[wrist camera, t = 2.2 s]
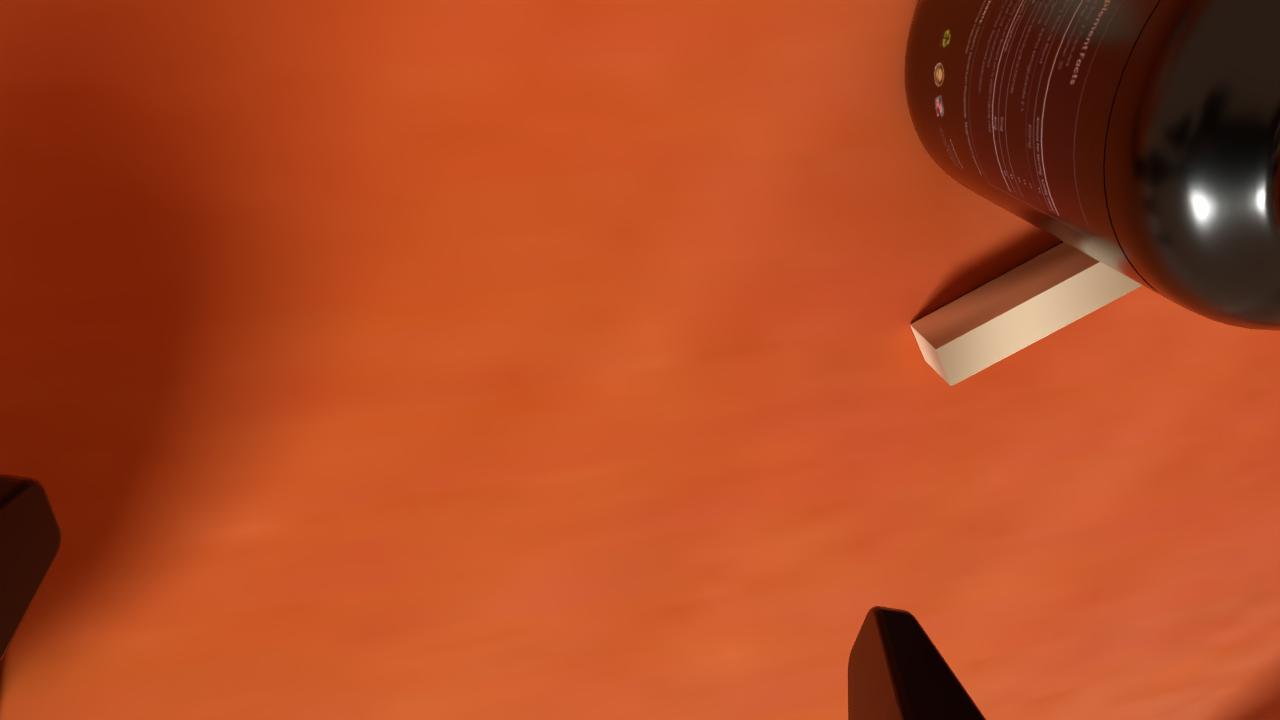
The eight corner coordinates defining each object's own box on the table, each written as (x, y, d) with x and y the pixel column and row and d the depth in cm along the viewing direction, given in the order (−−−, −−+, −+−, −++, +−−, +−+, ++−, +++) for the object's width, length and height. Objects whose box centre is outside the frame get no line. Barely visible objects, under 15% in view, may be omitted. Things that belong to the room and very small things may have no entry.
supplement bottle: (1207, -139, 19) (2155, -228, 8) (1148, 176, 22) (1775, 414, 11) (899, -113, 18) (1484, -174, 7) (883, 209, 21) (1278, 495, 10)
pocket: (924, 360, 23) (951, 386, 22) (726, -112, 17) (745, -115, 16) (1325, 146, 22) (1379, 160, 21) (1251, -428, 16) (1317, -460, 15)
